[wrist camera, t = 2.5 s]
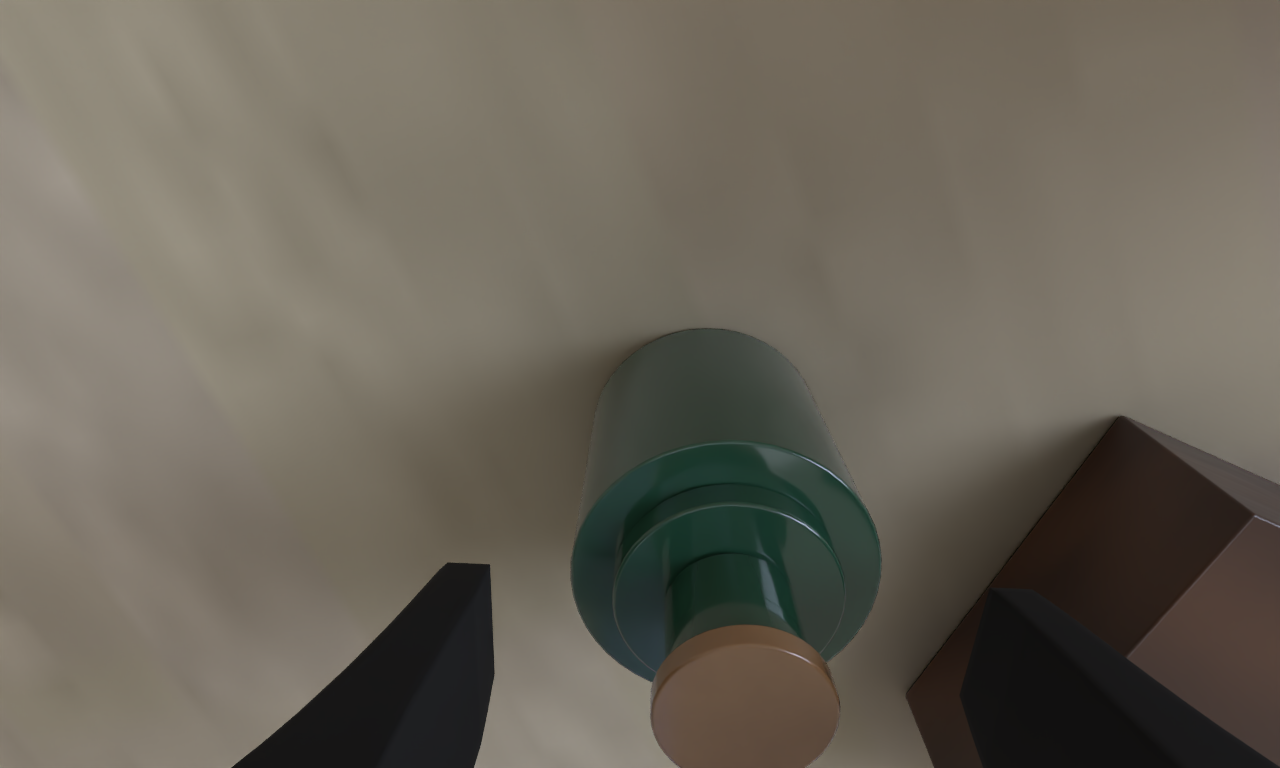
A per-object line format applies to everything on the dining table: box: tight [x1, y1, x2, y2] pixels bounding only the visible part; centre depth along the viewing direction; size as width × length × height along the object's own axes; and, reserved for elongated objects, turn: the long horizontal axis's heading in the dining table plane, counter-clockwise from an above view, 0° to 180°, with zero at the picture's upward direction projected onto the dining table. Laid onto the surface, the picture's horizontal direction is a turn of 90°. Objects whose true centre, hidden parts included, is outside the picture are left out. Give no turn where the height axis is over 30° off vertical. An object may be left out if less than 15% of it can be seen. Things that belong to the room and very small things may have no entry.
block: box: [906, 416, 1280, 768], centre depth 17 cm, size 9×9×4 cm
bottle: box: [571, 329, 882, 768], centre depth 13 cm, size 5×5×8 cm
